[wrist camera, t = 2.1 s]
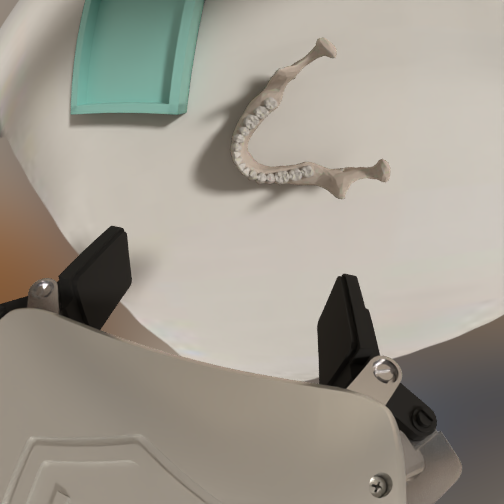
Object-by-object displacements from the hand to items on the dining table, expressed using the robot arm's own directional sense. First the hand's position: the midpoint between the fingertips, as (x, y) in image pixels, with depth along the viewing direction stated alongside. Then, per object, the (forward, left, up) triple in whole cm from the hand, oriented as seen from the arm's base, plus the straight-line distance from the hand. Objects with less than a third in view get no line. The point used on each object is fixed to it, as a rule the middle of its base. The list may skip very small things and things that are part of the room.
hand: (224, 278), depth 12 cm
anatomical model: (-4, +2, -19) cm, 19 cm away
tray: (-12, -16, -18) cm, 27 cm away
